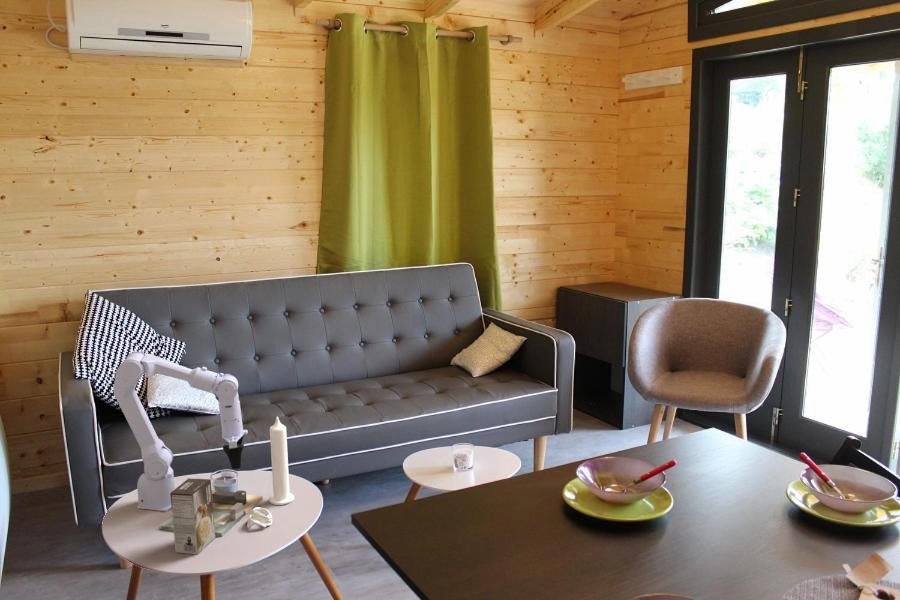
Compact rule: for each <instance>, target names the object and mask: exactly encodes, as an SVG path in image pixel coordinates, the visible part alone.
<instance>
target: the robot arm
mask: <svg viewBox="0 0 900 600" xmlns="http://www.w3.org/2000/svg"><path fill="white" fill-rule="evenodd" d="M144 374H145V378H149V377H153V376H155V375H162V376H167V377H169V378H174V379H177V380H183V381H185V382H187V383H188V385H189V386H190V387H191V388H194V389H197V390H199V391H203V392H206V393H210V394H213V395H214V394H215V395H216V397H217V398H218V403H219V404H218V410H219V416H220V417H219V418H220V426H221V432H222V433H221V438H222V439H223V440H224V441H226V443H227V444H226V445H225V444H224V445H222V450H223V452H224V453H225V454H226V456H227V458H228V460H229V463H230V467H231V468H232V470H237V469H240V468H241V464H242V452H243V449H244V447H245V444H244V443H243V440H244V437H245V435H248V429H244V427H243V417H242V411H241V401H240V399H239V398H240V397H239V392H238V390H239V389H238V388H239V381H238V379H237V378H236V377H235V376H234V375H232V374H230V373H225V374H224V373H222V372H220V373H218V372H214V371H210V370H208V368H207V367H206V366H202V367H195V368H194V369H190V368H187V367H185V366H182V365H180V364H177V363H174V362H171V361H168V360H166V359H163V358H160V357H158V356H156V355H154V354H151V353H146V354H145V353H144V352H142V351H133V352H131V353H129V354H128V355H127V356H126V357H125V360H124V361H122V362H121V363H120V365H119V366H118V368H117V370H116V371H115V379H114V384H113V385H114V386H113V395H114V397H115V399H116V400H117V403H118V405H119V407H120V409H121V411H122V413H123V415H124V417H125V419H126V421H127V423H128V425H129V428H130V429H131V431H132V433H133V435H134V437H135V439H136V442H137V443H138V445H139V447H140V451H141V459H142V461H143V465H144V466H143V471H144V473H142V474H141V475H140V476H139V478H138V479H137V485H136V486H137V487H136V488H137V498H138V505H137V506H136V508H137V509H142V510H152V511H161V512H168V511H169V510H170V509H172V506H171V495H170V493H171V492H172V491H173V490H175V489H176V487H175V478H174V477H175V475H174V469H173V468H172V467H171V465H172V462H173V460H174V454H173V452H172V450H171V449H170V448H169V447H167V446H166V445H165V443H164V441H162V439H160V438H159V437H158V435H157V433H156V431H155V429H154V427H153V425H152V423H151V421H150V419H149V416H148V414H147V412H146V410H145V407H144V406H143V404H142V402H141V400H140V398H139V396H138V394H137V392H136V387H137V385H138V383H139V381H140V380H141V378H143V376H144Z"/></svg>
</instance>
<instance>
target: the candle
mask: <svg viewBox="0 0 900 600" xmlns="http://www.w3.org/2000/svg"><path fill="white" fill-rule="evenodd" d="M287 436H288V435H287V427H286V425H284V424H283V423H282V422H281V421H280V419H279V416H276V417H275V421H274V424H273V425H272V426H270V427H269V438H270V440H269V441H270V455H271V458H270V459H271V474H272V475H271V476H272V477H271V479H272V493H273V494H272V495H271V496H270V497H268V502H269V504H271V505H274V506H285V505H288V504H291V503H292V502H293V501H294V500H295V495H294V494H293V493H291V492H290V475H289V473H290V472H289V459H288V457H289V455H288V440H287V438H288V437H287Z"/></svg>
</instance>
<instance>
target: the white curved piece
mask: <svg viewBox="0 0 900 600" xmlns="http://www.w3.org/2000/svg"><path fill="white" fill-rule="evenodd" d="M246 524H247V525H246V526H247V529H248V530H250V529H251V527H252V526H254V525H258V526H261V527H262V528H266V527H267V526H271V525H272V524H273V515H272V514H271V512H270V510H268V509H267V508H264V507H260V506H259V507H258V506H257V507H256V506H255V507H254V508H253V509H252V510H251V511H250V515H249V516H248V519H247V523H246Z"/></svg>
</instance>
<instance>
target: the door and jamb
mask: <svg viewBox="0 0 900 600" xmlns="http://www.w3.org/2000/svg"><path fill="white" fill-rule="evenodd" d="M246 499H247V503H246V504H244V505H243V503H236V504H226V503H216V502H213V514H214V526H215V537H223V536H224V535H225V534H226V533H228V531H230V530H231V529H232V528H233V527H234V526H235V525H236V524H237V523H239V522H240V521H241V520H242V519H243V518H245V516H246V515H248V514H249V513H251V512H252V510H253V509H254V508H256V506H257V505H259V503H261V502H262V501H263V496H262V495H261V496H260V495H253V494H246ZM159 527H160V530H162V531H163V530H164V531H172V532H174V528H173V517H172V516H171V517H170V518H169V519H167V520H166V521H164V523H162V524H161V525H160V526H159Z"/></svg>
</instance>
